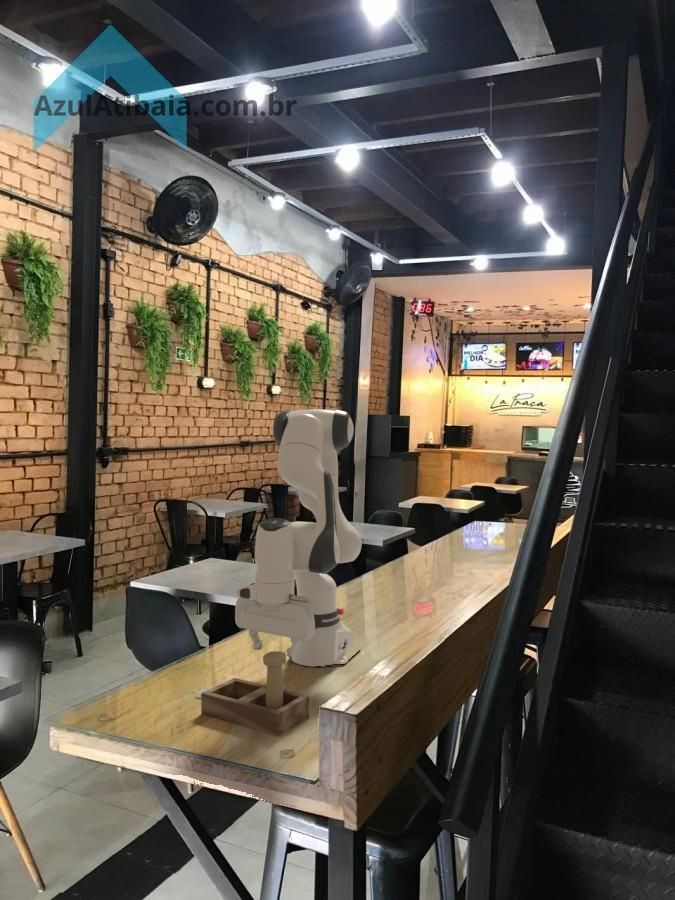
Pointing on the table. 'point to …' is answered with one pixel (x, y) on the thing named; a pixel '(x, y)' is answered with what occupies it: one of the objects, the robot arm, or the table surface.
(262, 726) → the divided box
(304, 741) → the table surface
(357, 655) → the table surface
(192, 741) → the table surface
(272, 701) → the handle
